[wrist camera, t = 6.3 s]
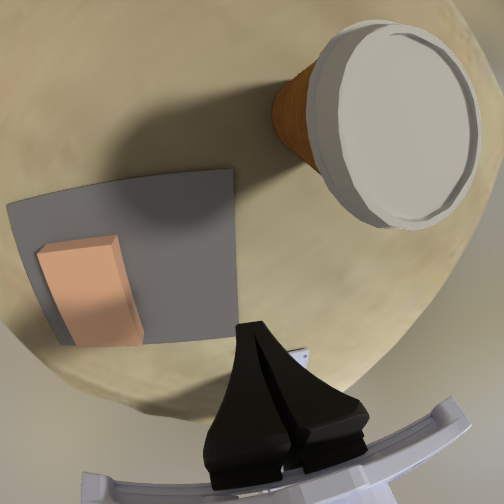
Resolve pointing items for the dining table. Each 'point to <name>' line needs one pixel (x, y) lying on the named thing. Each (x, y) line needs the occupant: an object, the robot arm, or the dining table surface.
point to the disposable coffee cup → (385, 124)
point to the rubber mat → (147, 248)
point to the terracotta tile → (92, 291)
